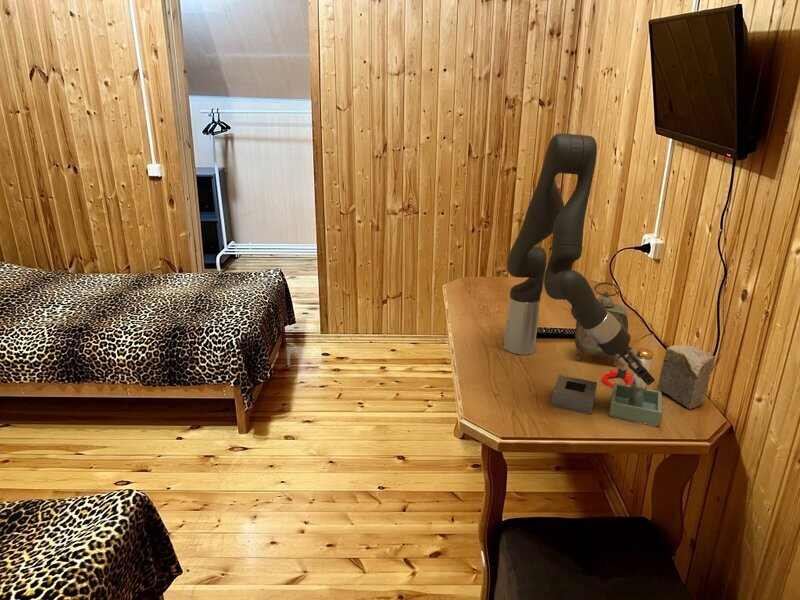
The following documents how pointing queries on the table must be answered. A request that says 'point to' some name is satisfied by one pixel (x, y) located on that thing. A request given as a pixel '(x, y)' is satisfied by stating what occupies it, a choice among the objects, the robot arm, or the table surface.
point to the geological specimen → (686, 374)
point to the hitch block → (574, 394)
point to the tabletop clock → (618, 311)
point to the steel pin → (637, 383)
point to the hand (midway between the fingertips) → (648, 378)
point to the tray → (633, 413)
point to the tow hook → (620, 373)
